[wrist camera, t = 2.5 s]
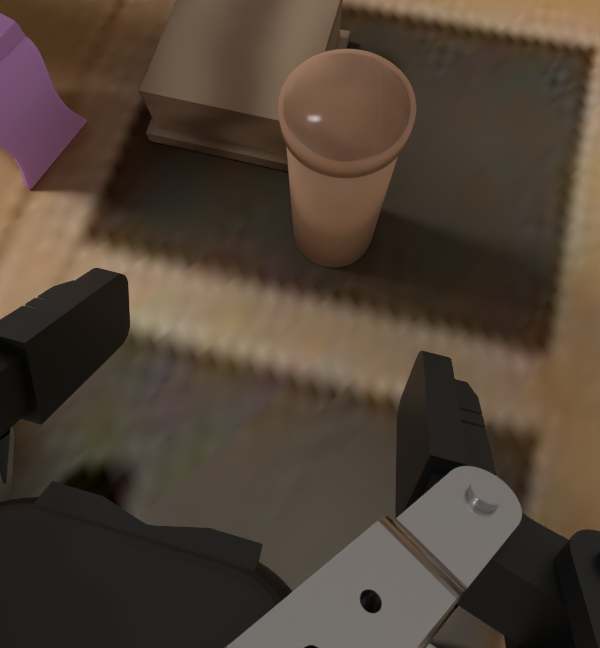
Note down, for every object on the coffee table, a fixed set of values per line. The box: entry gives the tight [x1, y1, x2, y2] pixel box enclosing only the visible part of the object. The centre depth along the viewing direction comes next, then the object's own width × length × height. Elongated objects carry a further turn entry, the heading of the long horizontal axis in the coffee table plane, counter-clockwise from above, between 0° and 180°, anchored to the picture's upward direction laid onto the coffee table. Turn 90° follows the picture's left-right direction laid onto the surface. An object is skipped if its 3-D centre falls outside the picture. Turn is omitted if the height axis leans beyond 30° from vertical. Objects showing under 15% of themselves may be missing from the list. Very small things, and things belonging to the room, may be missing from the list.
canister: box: [278, 49, 416, 268], centre depth 22 cm, size 5×5×11 cm
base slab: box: [139, 0, 350, 171], centre depth 29 cm, size 11×11×4 cm
